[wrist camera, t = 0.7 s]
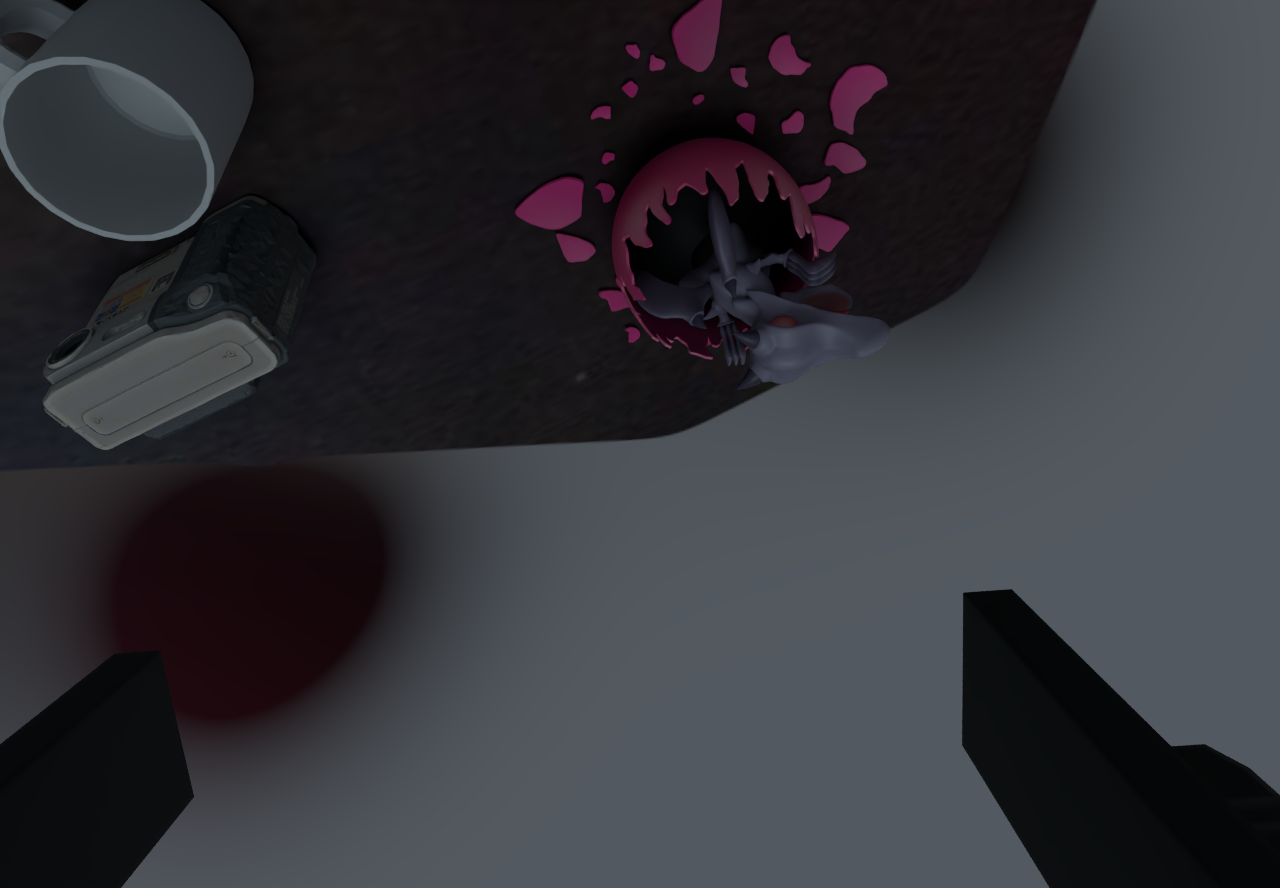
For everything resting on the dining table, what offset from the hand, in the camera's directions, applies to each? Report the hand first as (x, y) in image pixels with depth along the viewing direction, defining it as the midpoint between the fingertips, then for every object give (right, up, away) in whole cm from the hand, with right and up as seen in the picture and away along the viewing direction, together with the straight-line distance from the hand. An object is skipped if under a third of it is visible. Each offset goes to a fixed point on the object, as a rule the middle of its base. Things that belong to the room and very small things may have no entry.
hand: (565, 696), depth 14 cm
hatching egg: (+5, +18, +32) cm, 37 cm away
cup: (-21, +22, +24) cm, 38 cm away
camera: (-21, +14, +32) cm, 41 cm away
